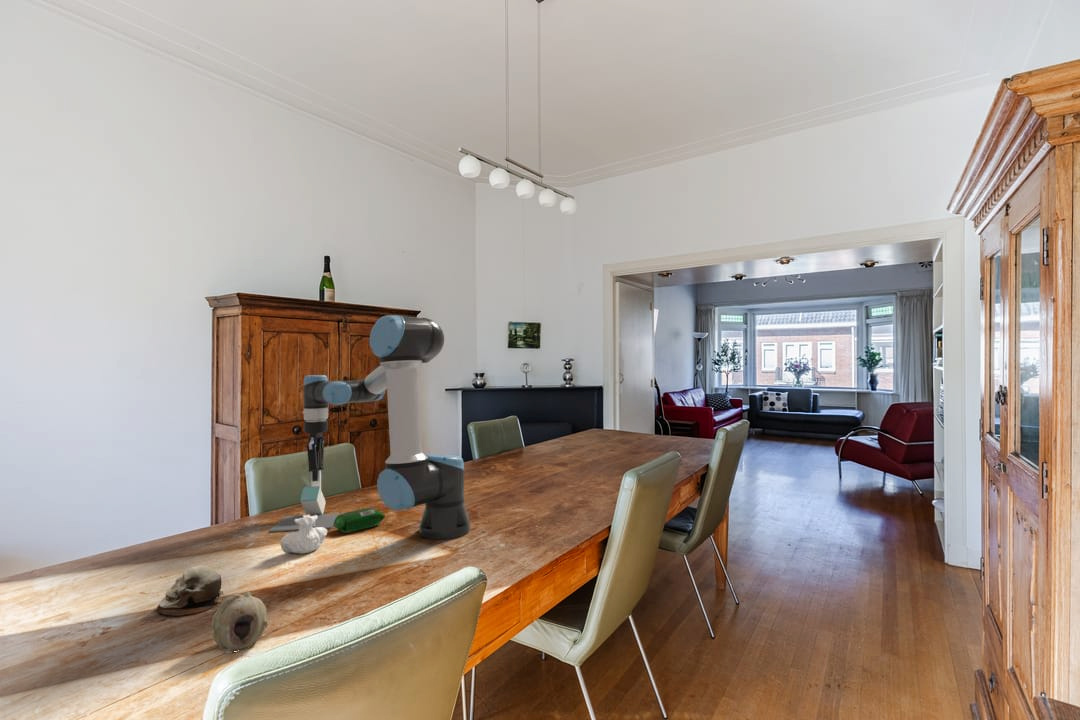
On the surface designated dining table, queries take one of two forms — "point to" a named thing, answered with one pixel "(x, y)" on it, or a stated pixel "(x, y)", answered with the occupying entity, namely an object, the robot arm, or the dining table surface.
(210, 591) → the skull
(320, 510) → the tall block
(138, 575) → the dining table surface
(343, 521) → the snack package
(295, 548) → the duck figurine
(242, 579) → the dining table surface
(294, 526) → the rubber mat
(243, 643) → the grey-brown rounded hollow piece
